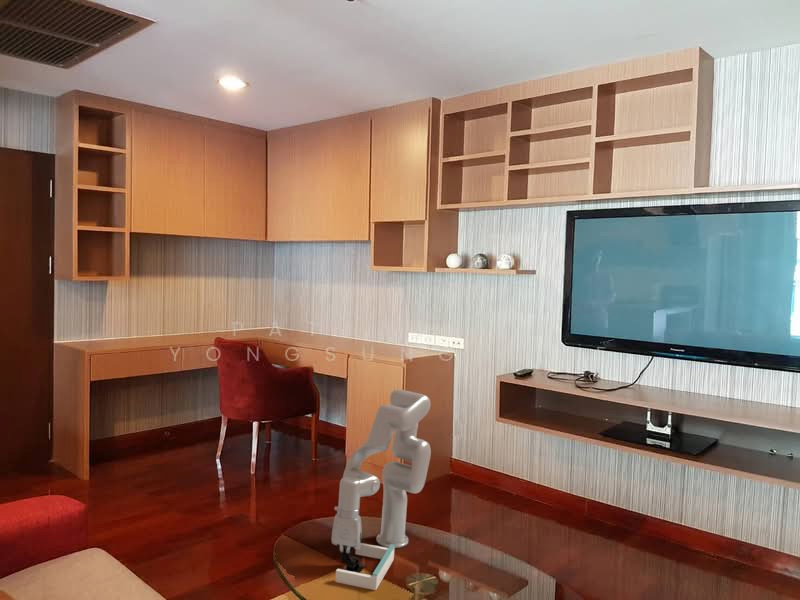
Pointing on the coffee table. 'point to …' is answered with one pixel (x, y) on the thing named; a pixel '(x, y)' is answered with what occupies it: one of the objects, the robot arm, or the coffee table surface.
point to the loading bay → (378, 574)
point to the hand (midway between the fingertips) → (345, 561)
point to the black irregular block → (354, 565)
